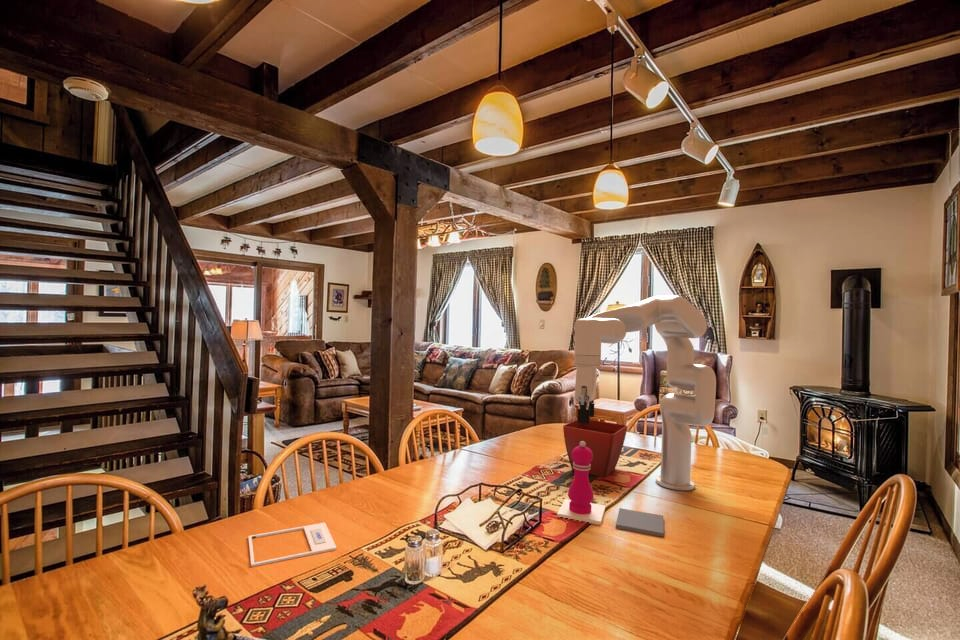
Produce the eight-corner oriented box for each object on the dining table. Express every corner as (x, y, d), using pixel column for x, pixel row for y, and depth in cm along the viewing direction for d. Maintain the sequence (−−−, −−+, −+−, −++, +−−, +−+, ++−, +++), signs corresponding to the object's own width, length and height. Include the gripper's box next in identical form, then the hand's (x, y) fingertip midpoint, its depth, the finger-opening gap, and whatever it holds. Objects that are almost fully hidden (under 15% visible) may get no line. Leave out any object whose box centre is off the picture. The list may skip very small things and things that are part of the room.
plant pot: (626, 468, 178) (628, 424, 178) (611, 482, 162) (613, 434, 162) (578, 459, 188) (580, 417, 188) (560, 471, 172) (562, 425, 172)
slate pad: (619, 511, 137) (619, 508, 137) (663, 519, 133) (663, 515, 133) (615, 527, 126) (615, 524, 126) (663, 536, 121) (663, 533, 121)
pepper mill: (593, 516, 130) (596, 445, 130) (567, 513, 132) (569, 443, 132) (592, 506, 137) (594, 438, 137) (567, 503, 139) (570, 436, 139)
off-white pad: (565, 501, 143) (565, 498, 143) (605, 509, 138) (605, 505, 138) (557, 517, 132) (557, 513, 132) (600, 525, 127) (600, 521, 127)
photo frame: (336, 546, 109) (251, 563, 101) (336, 551, 109) (251, 569, 101) (325, 521, 122) (248, 535, 113) (324, 525, 122) (248, 539, 113)
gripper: (579, 357, 144) (577, 412, 145) (569, 362, 128) (567, 424, 128) (604, 359, 142) (602, 415, 142) (596, 364, 126) (595, 427, 126)
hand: (586, 419), depth 135 cm, fingers open, 9 cm apart
